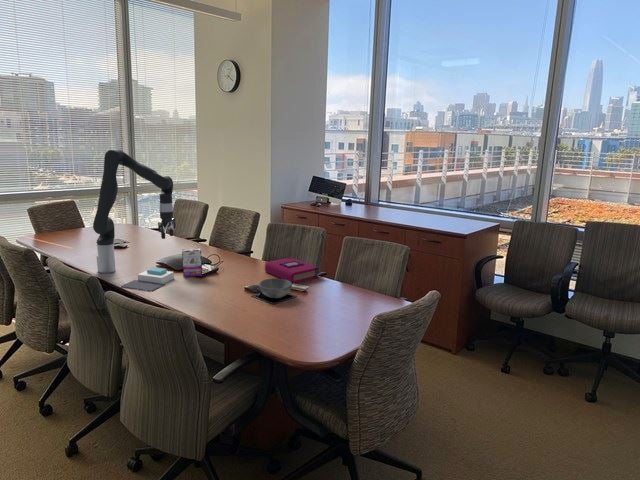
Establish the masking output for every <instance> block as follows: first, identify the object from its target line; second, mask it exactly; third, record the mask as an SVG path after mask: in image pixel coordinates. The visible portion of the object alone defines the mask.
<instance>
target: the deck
mask: <svg viewBox="0 0 640 480" xmlns="http://www.w3.org/2000/svg"><path fill="white" fill-rule="evenodd" d="M174 279H175V272H174V271H170V270H169V271H168V270H167V272H166V273H164V274H162V275H156V274H149V273H147V270H145V271H142V272H140V273H138V274H137V280H139V281H146V282H154V283H161V284H166V283H168V282H170V281H172V280H174Z"/></svg>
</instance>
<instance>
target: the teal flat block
mask: <svg viewBox="0 0 640 480" xmlns="http://www.w3.org/2000/svg"><path fill="white" fill-rule="evenodd" d="M146 271H147V273H149V274H156V275H162V274H164V273H166V272H167V271H168V270H167V268H161V267H151V268H149V269H147V270H146Z"/></svg>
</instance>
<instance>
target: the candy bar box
mask: <svg viewBox="0 0 640 480" xmlns="http://www.w3.org/2000/svg"><path fill="white" fill-rule="evenodd" d="M181 252H182V253H181V255H182V256H181V257H182V273H183V274H182V276H183V278H188V277H189V278H191V277H202V276H203V263H202V248H201V247H200V248H185V249H184V248H182V250H181Z"/></svg>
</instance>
